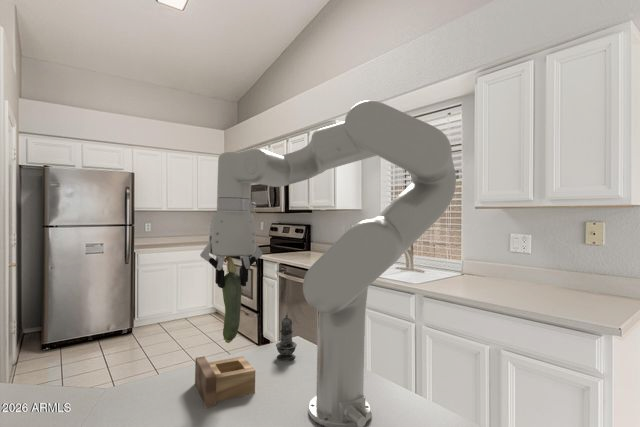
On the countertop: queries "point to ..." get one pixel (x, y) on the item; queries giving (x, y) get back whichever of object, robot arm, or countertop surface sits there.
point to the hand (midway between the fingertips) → (231, 285)
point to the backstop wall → (205, 381)
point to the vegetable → (231, 301)
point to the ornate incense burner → (286, 341)
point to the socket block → (233, 378)
